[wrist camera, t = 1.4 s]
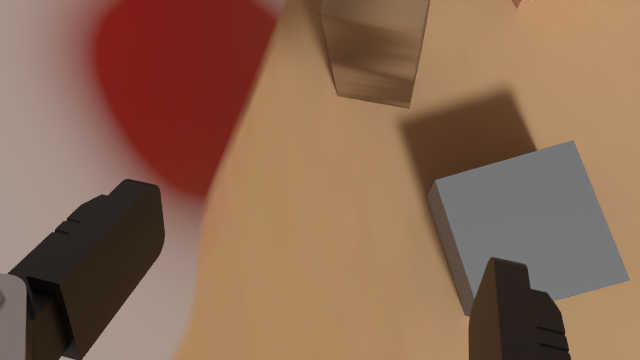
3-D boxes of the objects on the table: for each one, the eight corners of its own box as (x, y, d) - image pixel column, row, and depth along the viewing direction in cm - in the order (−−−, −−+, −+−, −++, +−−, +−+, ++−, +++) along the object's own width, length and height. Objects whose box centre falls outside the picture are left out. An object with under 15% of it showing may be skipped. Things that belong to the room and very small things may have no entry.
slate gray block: (542, 164, 30) (573, 140, 25) (587, 281, 29) (630, 280, 24) (426, 197, 30) (434, 180, 26) (464, 314, 29) (481, 320, 24)
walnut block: (423, 41, 32) (441, -65, 23) (409, 108, 32) (422, 28, 22) (353, 31, 33) (341, -77, 23) (338, 96, 32) (319, 13, 23)
